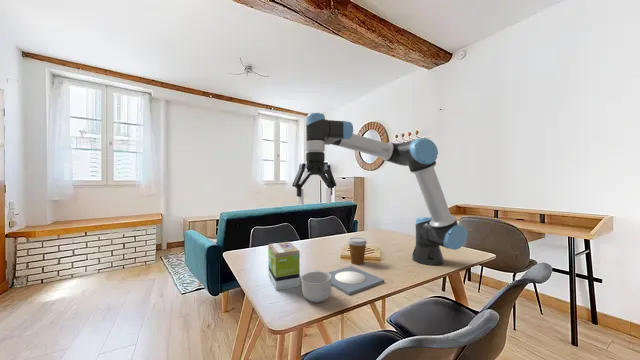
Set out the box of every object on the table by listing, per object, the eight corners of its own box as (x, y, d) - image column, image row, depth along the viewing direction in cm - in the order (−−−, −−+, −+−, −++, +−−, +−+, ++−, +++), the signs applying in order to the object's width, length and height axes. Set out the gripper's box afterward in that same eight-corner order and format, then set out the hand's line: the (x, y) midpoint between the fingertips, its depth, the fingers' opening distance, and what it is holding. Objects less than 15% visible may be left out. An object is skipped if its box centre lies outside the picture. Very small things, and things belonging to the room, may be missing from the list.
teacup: (328, 307, 81) (328, 283, 81) (297, 304, 83) (297, 280, 83) (334, 289, 94) (334, 268, 94) (307, 287, 96) (307, 266, 96)
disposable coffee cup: (368, 266, 121) (368, 241, 121) (349, 265, 121) (349, 241, 121) (365, 259, 130) (365, 237, 130) (347, 259, 130) (347, 237, 130)
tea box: (267, 276, 107) (267, 243, 107) (289, 273, 110) (289, 241, 111) (275, 291, 93) (275, 252, 93) (300, 286, 97) (300, 249, 97)
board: (351, 268, 117) (351, 265, 117) (384, 282, 101) (384, 279, 101) (317, 277, 106) (317, 274, 106) (348, 295, 90) (348, 291, 90)
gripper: (333, 155, 110) (333, 202, 109) (283, 150, 95) (283, 205, 95) (344, 153, 104) (344, 203, 103) (293, 148, 89) (293, 206, 89)
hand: (315, 204), depth 99 cm, fingers open, 13 cm apart
